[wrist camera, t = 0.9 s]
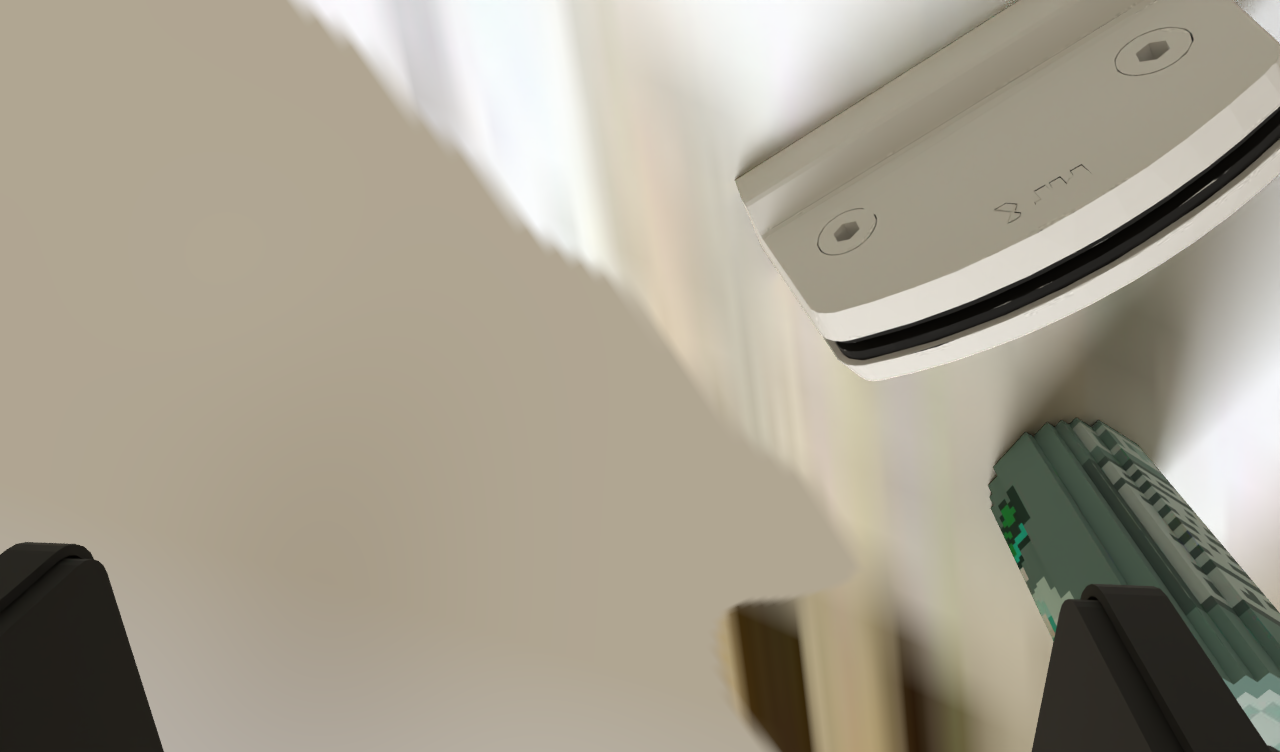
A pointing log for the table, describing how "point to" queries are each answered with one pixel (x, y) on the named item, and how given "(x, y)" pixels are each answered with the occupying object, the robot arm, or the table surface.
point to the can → (1134, 550)
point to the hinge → (1019, 175)
